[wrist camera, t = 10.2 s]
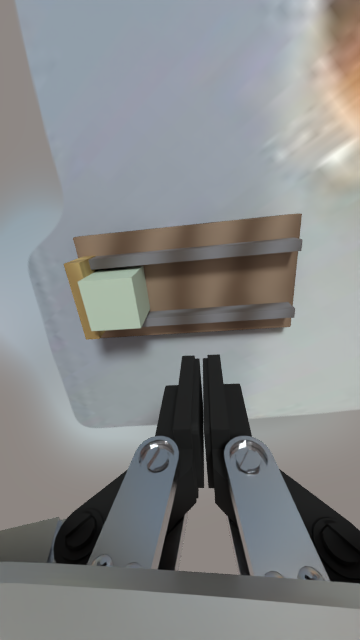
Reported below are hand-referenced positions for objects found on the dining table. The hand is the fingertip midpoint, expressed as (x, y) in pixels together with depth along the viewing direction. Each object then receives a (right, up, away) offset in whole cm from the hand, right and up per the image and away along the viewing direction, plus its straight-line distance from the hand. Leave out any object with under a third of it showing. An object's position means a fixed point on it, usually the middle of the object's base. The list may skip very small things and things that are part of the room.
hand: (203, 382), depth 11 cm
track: (0, +7, +17) cm, 18 cm away
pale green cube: (-7, +6, +16) cm, 18 cm away
